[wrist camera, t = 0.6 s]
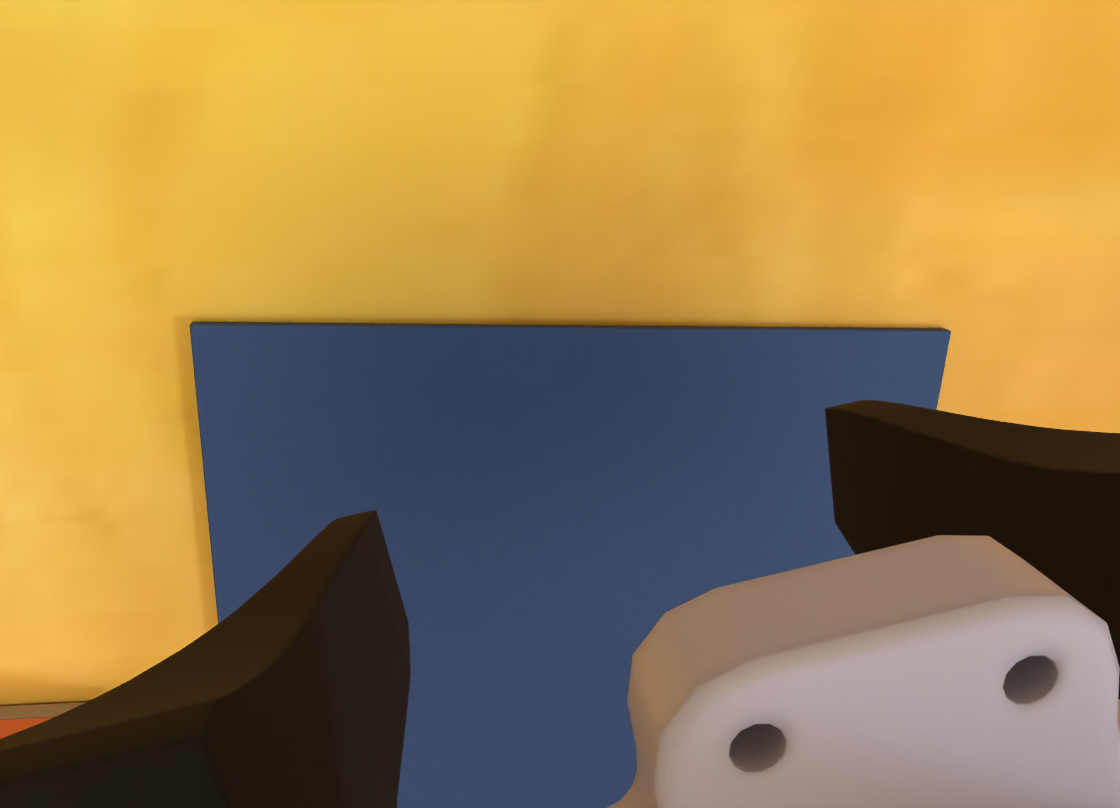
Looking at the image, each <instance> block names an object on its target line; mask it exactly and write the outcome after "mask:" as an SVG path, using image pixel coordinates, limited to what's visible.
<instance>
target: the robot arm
mask: <svg viewBox="0 0 1120 808" xmlns="http://www.w3.org/2000/svg"><path fill="white" fill-rule="evenodd" d="M825 416H826V427H827V439H828V450H829V462H830V474H831V485H832V497H833V508H834V520H835V524H836V525H837V527H838V528H839V530H840V531H841V533H842V535H843V536H844V538H845V539H846V541H847V542H848V544H849V546H850V547H851V549H852V550H853V552H854V553H855V554H856V555H853V556H849V557H844V558H840V559H836V560H832V561H828V562H823V563H819V564H815V565H811V566H806V567H802V568H798V569H794V570H790V571H785V572H781V573H777V574H773V575H769V576H764V577H760V578H756V579H752V580H747V581H743V582H739V583H735V584H731V585H726V586H722V587H718V588H714V589H712V590H710V591H708V592H706V593H704V594H702V595H700V596H698V597H696V598H694V599H692V600H690V601H688V602H686V603H684V604H682V605H680V606H678V607H676V608H674V609H672V610H670V611H668V612H666V613H664V615H663V616H662V617H661V618H660V620H659V621H658V622H657V624H656V625H655V626H654V628H653V629H652V630H651V631H650V633H649V634H648V635H647V637H646V638H645V639H644V641H643V642H642V643H641V645H640V646H639V647H638V648H637V650H636V651H635V652H634V654H633V656H632V665H631V673H630V682H629V690H628V698H627V703H628V708H629V713H630V718H631V724H632V729H633V734H634V739H635V744H636V756H637V771H636V775H635V779H634V782H633V785H632V787H631V788H630V789H629V791H628V792H627V793H626V794H625V795H624V797H623V798H622V799H621V800H620V801H618V802H616V803H614V804H613V805H611V806H609V807H607V808H1120V433H1103V432H1089V431H1075V430H1062V429H1052V428H1043V427H1035V426H1028V425H1021V424H1014V423H1007V422H1000V421H994V420H988V419H982V418H976V417H971V416H965V415H960V414H954V413H949V412H944V411H939V410H933V409H928V408H923V407H917V406H912V405H906V404H900V403H894V402H887V401H878V400H860V401H855V402H851V403H846V404H842V405H838V406H833V407H829V408H825ZM410 677H411V669H410V641H409V622H408V619H407V615H406V612H405V608H404V605H403V601H402V598H401V594H400V591H399V587H398V584H397V580H396V577H395V573H394V570H393V566H392V563H391V559H390V556H389V552H388V549H387V545H386V542H385V538H384V535H383V531H382V528H381V524H380V521H379V517H378V514H377V510H372V511H367V512H363V513H358V514H354V515H349V516H345V517H340V518H337V519H335V520H334V521H332V522H331V523H330V524H329V525H327V526H326V527H325V528H324V529H323V530H322V531H321V532H320V533H319V534H318V535H317V536H316V537H315V538H314V539H313V540H312V541H311V542H310V543H309V544H308V545H307V546H306V547H305V548H304V549H303V550H302V551H300V552H299V553H298V554H297V555H296V556H295V557H294V558H293V559H292V560H291V561H290V562H289V563H288V564H287V565H286V566H285V567H284V568H283V569H282V570H281V571H280V572H279V573H278V574H277V575H276V576H275V577H273V578H272V579H271V580H270V581H269V582H268V583H267V584H265V585H264V586H263V587H262V588H261V589H260V590H259V591H257V592H256V593H255V594H254V595H253V596H252V597H251V598H250V599H248V600H247V601H246V602H245V603H244V604H243V605H242V606H240V607H239V608H238V609H237V610H236V611H234V612H233V613H232V614H231V615H229V616H228V617H227V618H225V619H224V620H223V621H221V622H220V623H219V624H218V625H216V626H215V627H213V628H212V629H211V630H209V631H208V632H206V633H205V634H204V635H202V636H201V637H199V638H198V639H196V640H195V641H194V642H192V643H191V644H189V645H188V646H186V647H185V648H183V649H182V650H180V651H179V652H177V653H175V654H173V655H172V656H170V657H168V658H167V659H165V660H163V661H162V662H160V663H158V664H157V665H155V666H153V667H151V668H150V669H148V670H146V671H145V672H143V673H141V674H140V675H138V676H136V677H135V678H133V679H131V680H129V681H128V682H126V683H124V684H122V685H120V686H118V687H116V688H114V689H112V690H110V691H108V692H106V693H104V694H102V695H100V696H98V697H97V698H95V699H93V700H90V701H88V702H86V703H84V704H82V705H80V706H78V707H75V708H73V709H71V710H69V711H67V712H65V713H63V714H60V715H58V716H56V717H53V718H51V719H49V720H47V721H44V722H42V723H40V724H37V725H35V726H32V727H29V728H27V729H24V730H22V731H19V732H17V733H14V734H11V735H9V736H6V737H4V738H1V739H0V808H397V797H398V788H399V779H400V770H401V761H402V752H403V743H404V735H405V726H406V717H407V707H408V698H409V688H410Z"/></svg>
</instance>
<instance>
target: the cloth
mask: <svg viewBox="0 0 1120 808" xmlns="http://www.w3.org/2000/svg"><path fill="white" fill-rule="evenodd" d="M190 333H191V344H192V354H193V364H194V375H195V385H196V396H197V406H198V417H199V427H200V437H201V448H202V458H203V469H204V479H205V490H206V500H207V510H208V521H209V531H210V542H211V552H212V563H213V573H214V583H215V594H216V604H217V615H218V624H219V623H220V622H221V621H223V620H224V619H225V618H227V617H228V616H229V615H231V614H232V613H233V612H234V611H236V610H237V609H238V608H239V607H240V606H242V605H243V604H244V603H245V602H246V601H247V600H248V599H250V598H251V597H252V596H253V595H254V594H255V593H256V592H257V591H259V590H260V589H261V588H262V587H263V586H264V585H265V584H267V583H268V582H269V581H270V580H271V579H272V578H273V577H275V576H276V575H277V574H278V573H279V572H280V571H281V570H282V569H283V568H284V567H285V566H286V565H287V564H288V563H289V562H290V561H291V560H292V559H293V558H294V557H295V556H296V555H297V554H298V553H299V552H300V551H302V550H303V549H304V548H305V547H306V546H307V545H308V544H309V543H310V542H311V541H312V540H313V539H314V538H315V537H316V536H317V535H318V534H319V533H320V532H321V531H322V530H323V529H324V528H325V527H326V526H327V525H329V524H330V523H331V522H332V521H334V520H335V519H337V518H340V517H345V516H349V515H354V514H358V513H363V512H367V511H372V510H377V514H378V517H379V521H380V524H381V528H382V531H383V535H384V538H385V542H386V545H387V549H388V552H389V556H390V559H391V563H392V566H393V570H394V573H395V577H396V580H397V584H398V587H399V591H400V594H401V598H402V601H403V605H404V608H405V612H406V615H407V619H408V622H409V641H410V669H411V677H410V688H409V698H408V707H407V717H406V726H405V735H404V743H403V752H402V761H401V770H400V779H399V788H398V797H397V808H607V807H609V806H611V805H613V804H614V803H616V802H618V801H620V800H621V799H622V798H623V797H624V795H625V794H626V793H627V792H628V791H629V789H630V788H631V787H632V785H633V782H634V779H635V775H636V771H637V756H636V744H635V739H634V734H633V729H632V724H631V718H630V713H629V708H628V703H627V698H628V690H629V682H630V673H631V665H632V656H633V654H634V652H635V651H636V650H637V648H638V647H639V646H640V645H641V643H642V642H643V641H644V639H645V638H646V637H647V635H648V634H649V633H650V631H651V630H652V629H653V628H654V626H655V625H656V624H657V622H658V621H659V620H660V618H661V617H662V616H663V615H664V613H666V612H668V611H670V610H672V609H674V608H676V607H678V606H680V605H682V604H684V603H686V602H688V601H690V600H692V599H694V598H696V597H698V596H700V595H702V594H704V593H706V592H708V591H710V590H712V589H714V588H718V587H722V586H726V585H731V584H735V583H739V582H743V581H747V580H752V579H756V578H760V577H764V576H769V575H773V574H777V573H781V572H785V571H790V570H794V569H798V568H802V567H806V566H811V565H815V564H819V563H823V562H828V561H832V560H836V559H840V558H844V557H849V556H853V555H856V554H855V553H854V552H853V550H852V549H851V547H850V546H849V544H848V542H847V541H846V539H845V538H844V536H843V535H842V533H841V531H840V530H839V528H838V527H837V525H836V524H835V520H834V508H833V497H832V485H831V474H830V462H829V450H828V439H827V427H826V416H825V408H829V407H833V406H838V405H842V404H846V403H851V402H855V401H860V400H878V401H887V402H894V403H900V404H906V405H912V406H917V407H923V408H928V409H933V410H936V409H937V403H938V398H939V392H940V387H941V382H942V376H943V371H944V366H945V360H946V355H947V349H948V344H949V339H950V333H951V331H949V330H947V329H918V328H809V327H700V326H591V325H483V324H374V323H265V322H192V323H191V324H190Z"/></svg>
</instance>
